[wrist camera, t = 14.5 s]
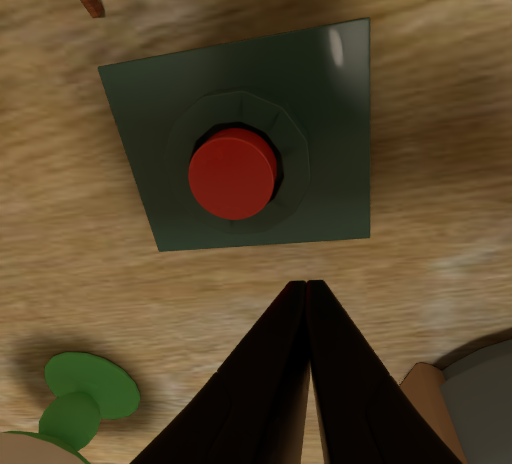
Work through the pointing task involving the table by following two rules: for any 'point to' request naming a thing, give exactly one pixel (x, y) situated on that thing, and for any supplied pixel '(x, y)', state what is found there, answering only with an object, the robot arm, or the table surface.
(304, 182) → the housing
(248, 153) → the button
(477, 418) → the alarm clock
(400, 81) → the table surface
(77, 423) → the cup
